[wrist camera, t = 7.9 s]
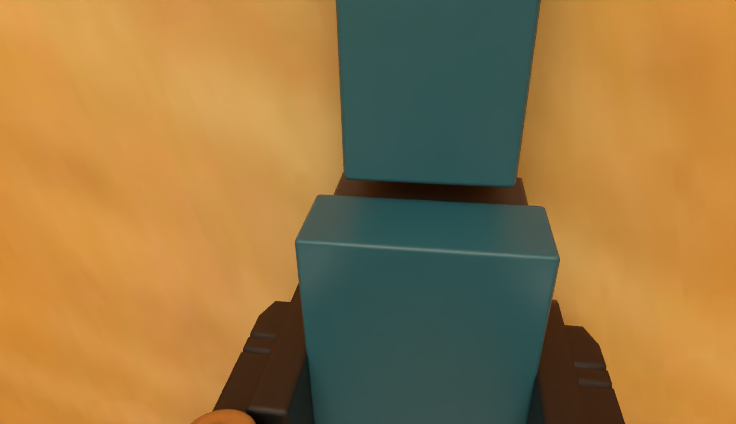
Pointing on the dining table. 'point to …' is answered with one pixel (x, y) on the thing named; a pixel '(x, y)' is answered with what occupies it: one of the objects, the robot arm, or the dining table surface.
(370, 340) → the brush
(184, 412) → the dining table surface
